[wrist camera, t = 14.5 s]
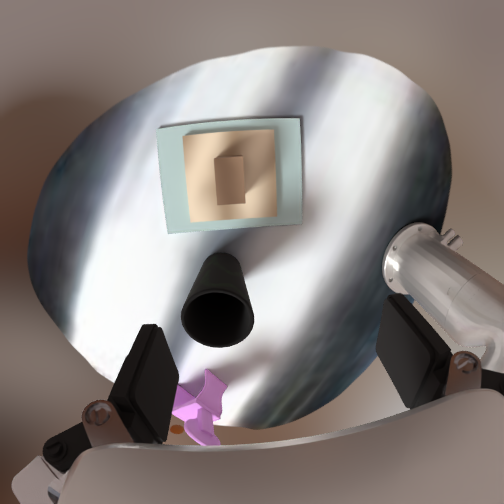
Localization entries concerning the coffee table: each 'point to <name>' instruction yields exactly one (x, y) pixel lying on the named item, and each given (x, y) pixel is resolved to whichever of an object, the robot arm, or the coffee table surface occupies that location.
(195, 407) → the toy chair
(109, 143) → the coffee table surface
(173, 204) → the mat
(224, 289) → the cup
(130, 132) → the coffee table surface
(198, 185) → the lid
